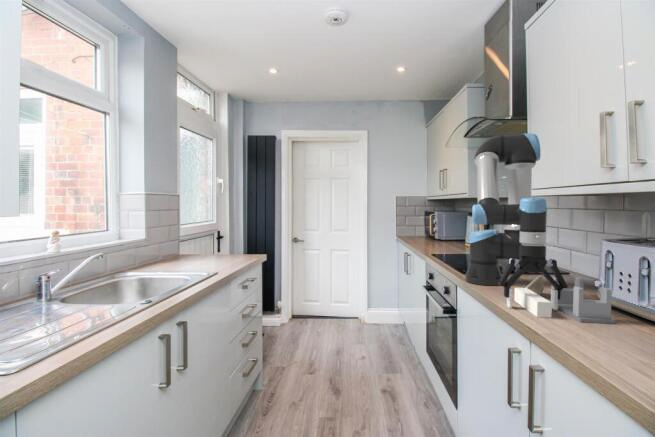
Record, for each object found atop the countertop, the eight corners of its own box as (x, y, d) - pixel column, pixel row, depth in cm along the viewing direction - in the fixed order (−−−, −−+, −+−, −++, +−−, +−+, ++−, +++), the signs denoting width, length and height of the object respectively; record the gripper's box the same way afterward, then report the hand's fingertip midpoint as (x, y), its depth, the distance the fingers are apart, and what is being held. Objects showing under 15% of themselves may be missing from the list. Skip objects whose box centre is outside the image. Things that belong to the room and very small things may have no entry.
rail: (514, 301, 120) (514, 287, 120) (526, 301, 120) (526, 287, 120) (537, 317, 103) (537, 301, 103) (551, 318, 102) (551, 302, 102)
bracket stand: (548, 302, 118) (548, 275, 117) (576, 303, 116) (577, 276, 116) (580, 322, 98) (580, 290, 98) (615, 323, 96) (615, 291, 96)
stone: (512, 295, 132) (522, 273, 134) (529, 304, 130) (539, 282, 132) (524, 292, 122) (535, 269, 124) (542, 303, 120) (553, 279, 122)
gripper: (495, 245, 109) (494, 309, 110) (581, 246, 104) (579, 313, 105) (488, 242, 116) (488, 303, 117) (568, 243, 112) (567, 306, 112)
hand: (531, 308), depth 111 cm, fingers open, 13 cm apart
